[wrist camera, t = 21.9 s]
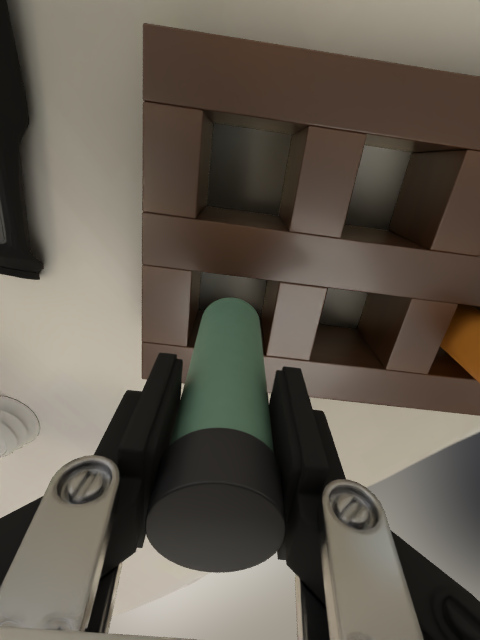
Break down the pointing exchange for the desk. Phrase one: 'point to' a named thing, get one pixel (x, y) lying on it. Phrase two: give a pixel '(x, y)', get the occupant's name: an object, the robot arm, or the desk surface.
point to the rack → (315, 213)
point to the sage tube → (220, 454)
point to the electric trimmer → (12, 161)
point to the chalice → (16, 425)
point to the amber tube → (464, 339)
